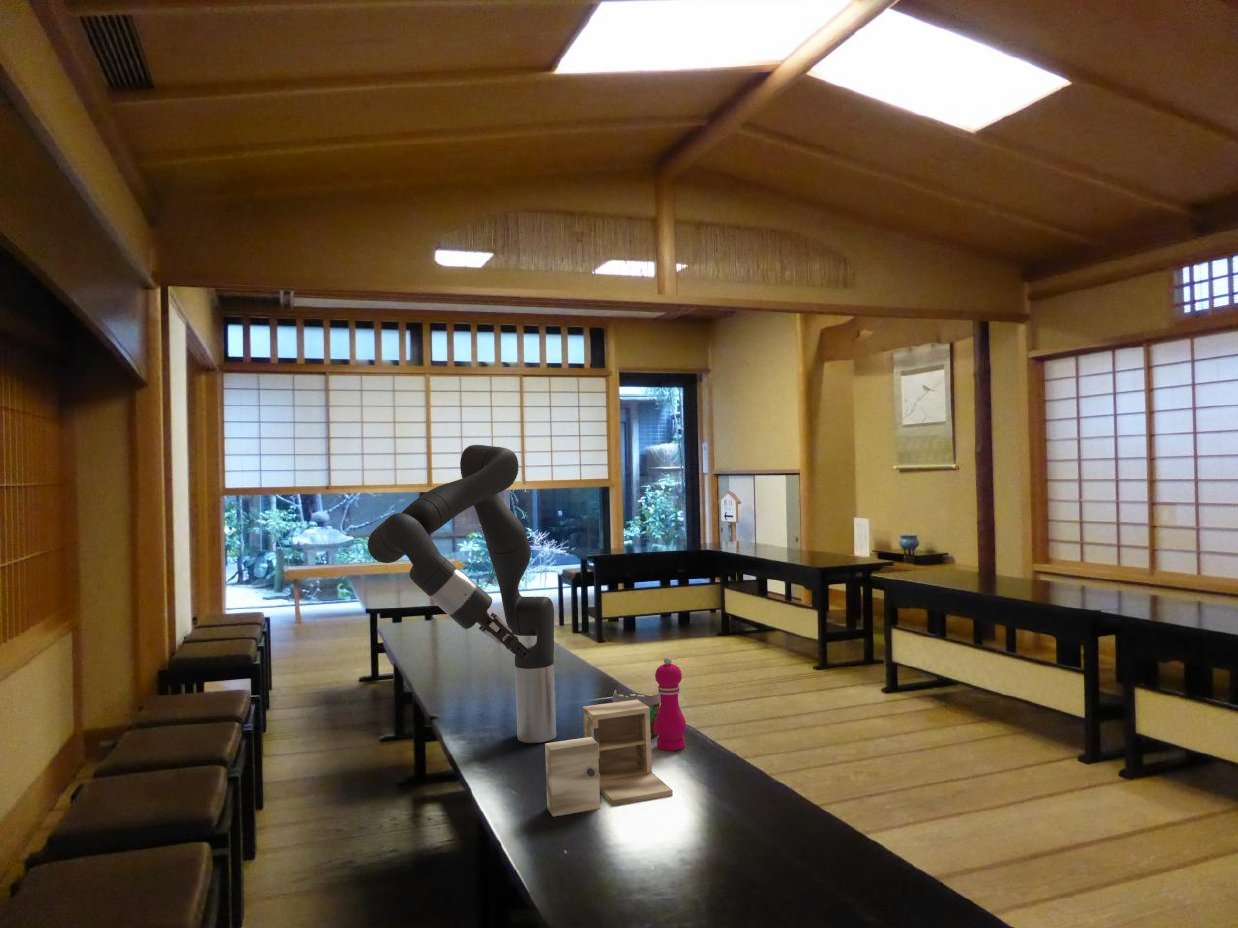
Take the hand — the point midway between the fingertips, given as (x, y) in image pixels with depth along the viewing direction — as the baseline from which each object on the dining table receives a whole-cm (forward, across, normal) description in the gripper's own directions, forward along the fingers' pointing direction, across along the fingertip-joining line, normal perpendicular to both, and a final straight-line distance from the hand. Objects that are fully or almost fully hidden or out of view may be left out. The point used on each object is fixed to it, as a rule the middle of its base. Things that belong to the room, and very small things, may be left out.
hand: (523, 654), depth 157 cm
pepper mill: (+46, +19, -7) cm, 50 cm away
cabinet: (+34, +1, +5) cm, 35 cm away
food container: (+43, +29, -3) cm, 51 cm away
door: (+25, -6, +15) cm, 30 cm away
